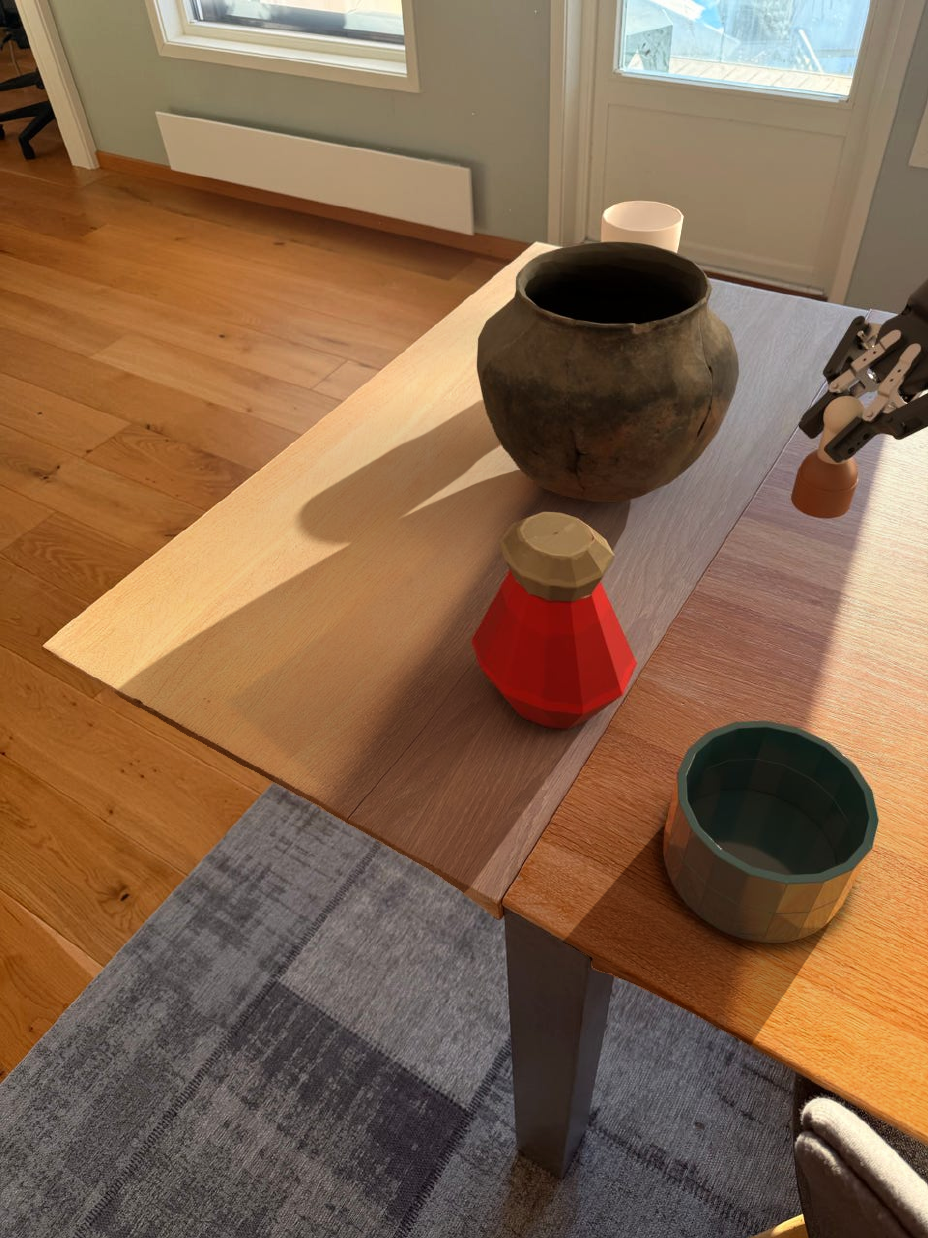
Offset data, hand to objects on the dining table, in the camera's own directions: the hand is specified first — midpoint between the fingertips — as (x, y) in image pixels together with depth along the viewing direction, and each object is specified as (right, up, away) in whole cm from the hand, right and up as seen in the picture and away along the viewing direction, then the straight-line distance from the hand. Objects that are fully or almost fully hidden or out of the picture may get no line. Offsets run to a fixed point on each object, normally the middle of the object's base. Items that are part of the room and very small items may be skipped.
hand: (818, 443), depth 79 cm
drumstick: (+2, -4, +5) cm, 7 cm away
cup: (-5, +29, +61) cm, 67 cm away
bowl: (-7, -35, -5) cm, 36 cm away
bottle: (-22, -23, +9) cm, 33 cm away
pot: (-14, +2, +34) cm, 37 cm away
